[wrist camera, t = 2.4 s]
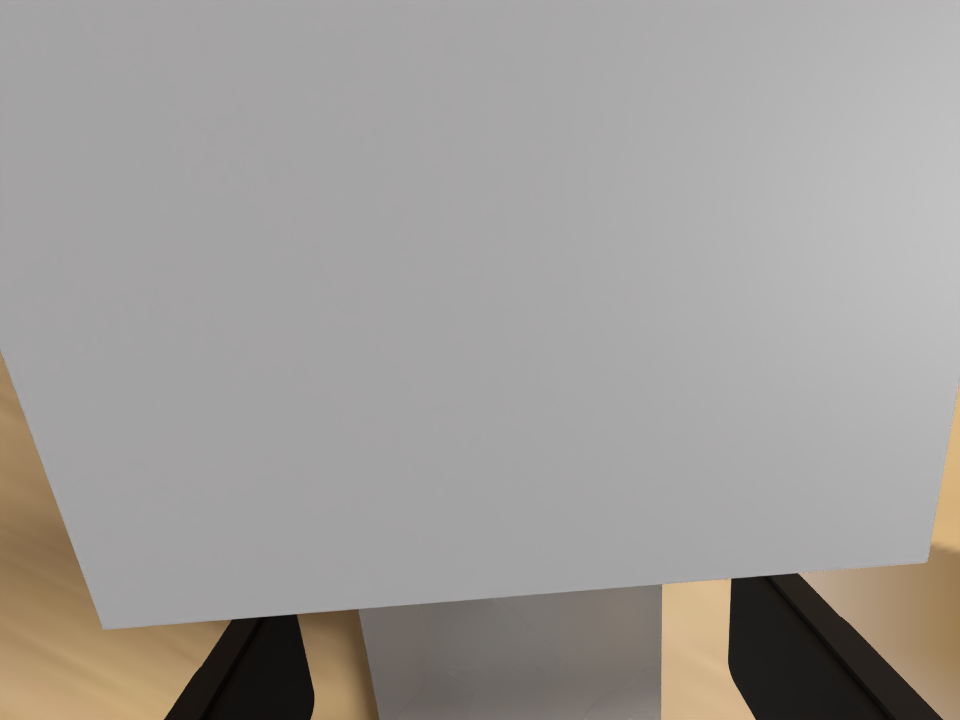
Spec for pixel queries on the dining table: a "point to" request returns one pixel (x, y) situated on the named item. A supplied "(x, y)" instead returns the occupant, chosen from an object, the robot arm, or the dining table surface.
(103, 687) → the dining table surface
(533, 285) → the board
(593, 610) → the grey rectangular block
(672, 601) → the dining table surface
